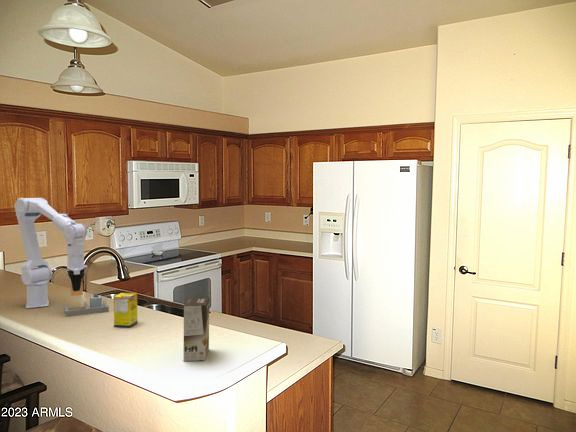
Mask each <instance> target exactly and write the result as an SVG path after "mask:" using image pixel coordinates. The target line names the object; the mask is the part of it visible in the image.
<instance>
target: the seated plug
mask: <svg viewBox="0 0 576 432" xmlns="http://www.w3.org/2000/svg"><path fill="white" fill-rule="evenodd" d="M94 307H103V297H102V295H101V294H100V295H99V294H98V293H94V294H93V295H90V296H89V308H94Z"/></svg>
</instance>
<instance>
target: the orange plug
mask: <svg viewBox="0 0 576 432" xmlns="http://www.w3.org/2000/svg"><path fill="white" fill-rule="evenodd" d="M83 283H84V282H83V280H82V281H81V286H80V290H79V291H73V288H72V282H71V281H70V295H71V296H83V295H84V291H83V289H84V288H83V287H84V285H83Z"/></svg>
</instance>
